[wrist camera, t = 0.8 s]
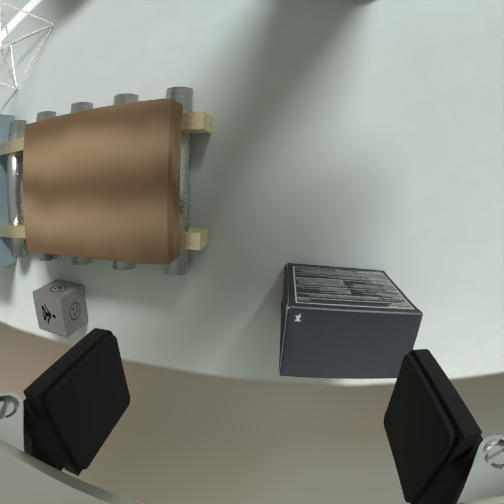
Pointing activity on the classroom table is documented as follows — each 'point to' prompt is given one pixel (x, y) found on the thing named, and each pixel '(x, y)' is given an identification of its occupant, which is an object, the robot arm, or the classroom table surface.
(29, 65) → the geometric polyhedron
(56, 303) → the dice cube
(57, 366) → the robot arm
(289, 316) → the small box
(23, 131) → the roller bed
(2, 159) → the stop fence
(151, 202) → the slab
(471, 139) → the classroom table surface
